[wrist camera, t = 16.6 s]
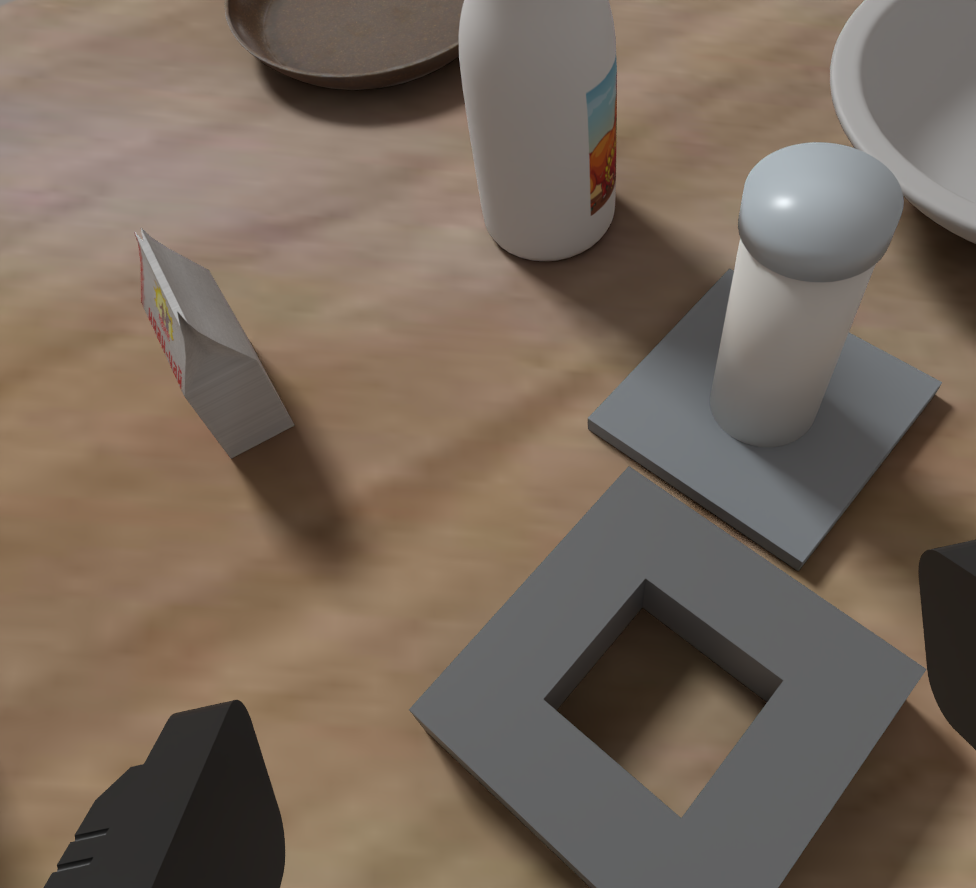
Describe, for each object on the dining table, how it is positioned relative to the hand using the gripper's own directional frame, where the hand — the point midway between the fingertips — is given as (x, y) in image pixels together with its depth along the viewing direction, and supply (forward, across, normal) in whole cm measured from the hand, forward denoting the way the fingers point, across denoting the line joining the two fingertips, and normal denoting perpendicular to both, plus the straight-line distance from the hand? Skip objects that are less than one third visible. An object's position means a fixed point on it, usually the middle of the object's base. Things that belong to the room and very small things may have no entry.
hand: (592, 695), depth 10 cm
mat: (+33, -13, +6) cm, 36 cm away
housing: (+24, -4, +16) cm, 29 cm away
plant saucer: (+61, +2, -21) cm, 64 cm away
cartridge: (+32, -13, +6) cm, 35 cm away
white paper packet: (+39, +13, +1) cm, 41 cm away
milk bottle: (+44, -6, -4) cm, 45 cm away
